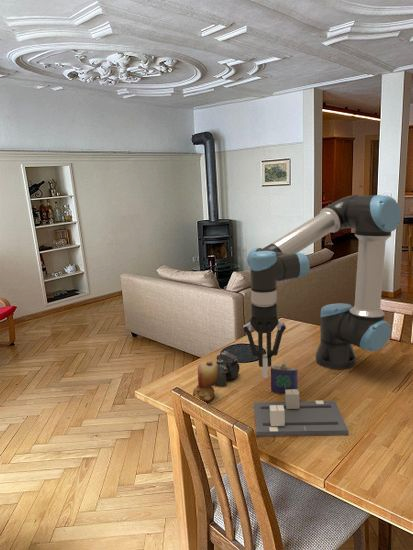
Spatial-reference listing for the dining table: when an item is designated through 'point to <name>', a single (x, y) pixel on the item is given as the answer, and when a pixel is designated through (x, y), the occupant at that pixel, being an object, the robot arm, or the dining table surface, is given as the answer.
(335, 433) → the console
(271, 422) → the fader white
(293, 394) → the off-white slider block
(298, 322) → the dining table surface
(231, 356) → the camera
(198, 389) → the figurine
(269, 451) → the dining table surface
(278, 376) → the flask
